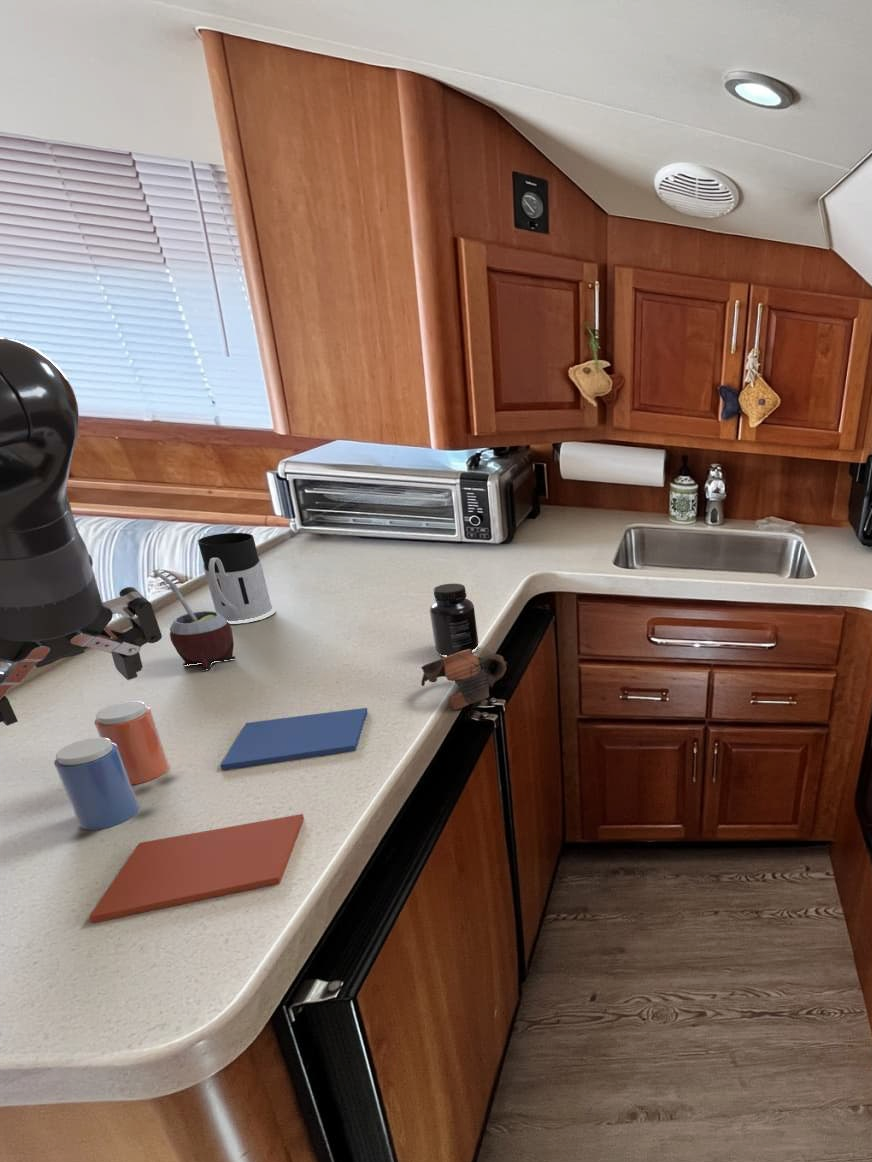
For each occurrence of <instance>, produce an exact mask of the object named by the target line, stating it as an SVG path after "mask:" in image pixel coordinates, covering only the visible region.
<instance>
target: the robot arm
mask: <svg viewBox="0 0 872 1162" xmlns="http://www.w3.org/2000/svg"><path fill="white" fill-rule="evenodd" d="M79 425H80V413H79V405H78V401H77V397H76V394H75V392H74V388H73V387H72V385H71V383H70V381H69V380H68V378H67V377H66V375H65V374H64V373H63V371H62V370H61V368H60V367H58V365H57V364H55V363H54V362H53V361H52V360H51V359H50V358H49V357H48V356H46V355H45V354H43V353H42V352H41V351H40V350H38V349H36V348H34V347H32V346H30V345H27V344H26V343H23V342H20V341H18V340H14V339H10V338H4V337H0V723H3V724H4V725H5V726H10V725H13V724H15V723H18V721H19V720H18V718H17V716H16V714H15V711H14V709H13V707H12V705H11V703H10V700H9V698H8V697H7V696H6V694H7V693H8V692H9V690H10V689H11V688H12V687H13V686H14V685H20V684H21V683H22V682H23V681H24V680H25V679H26V677H27V676H28V675H29V674H30V672H31V671H32V670H33V669H34V667H36V668H37V669H39V668H42V667H45V666H48V665H51V664H53V663H55V662H57V661H58V660H61V659H66V658H71V657H75V656H78V655H80V654H84V653H85V650H87V649H88V648H90V649H95V650H98V651H102V652H106V653H109V654H110V653H111V657H112V661H113V663H114V667H115V669H116V670H117V671H118V673H119V674H121V675H122V676H123V677H124V679H126V680H127V681H130V680H133V679H136V678H138V672H141V671H142V669H143V667H144V666H143V663H142V658H141V654H140V651H141V648H142V646H144V645H147V643H148V644H155V643H157V642H159V641H161V640H162V638H163V635H162V632H161V629H160V626H159V623H158V620H157V617H156V614H155V611H154V608H153V605H152V603H151V602H150V601H149V600H148V599H147V598H146V597H145V596H143V595H142V593H140V592H139V591H138V590H137V589H136V588H135V587H133V586H127V587H124V588H123V589H121V590H120V591H119V597H115V598H113V599H110V600H106V601H102V597H101V595H100V594H101V593H100V591H99V587H98V583H97V580H96V576H95V573H94V569H93V564H94V562H93V559H92V556H91V554H90V553H89V550H88V548H87V545H86V543H85V541H84V540H83V537H82V536H81V534H80V532H79V530H78V527H77V524H76V521H75V517H74V514H73V510H72V507H71V503H70V500H69V497H68V493H67V486H68V481H69V477H70V472H71V466H72V460H73V455H74V452H75V447H76V442H77V437H78V432H79ZM116 614H117V615H118V614H119V615H121V616H122V617H123V618H126V619H127V618H128V621H129V624H130V627H131V628H130V629H128V630H125V631H122V630H119V629H116V628H112V627H109V626H108V625H109V624H110V622H111V621H112V619H113V617H114V615H116Z"/></svg>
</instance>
